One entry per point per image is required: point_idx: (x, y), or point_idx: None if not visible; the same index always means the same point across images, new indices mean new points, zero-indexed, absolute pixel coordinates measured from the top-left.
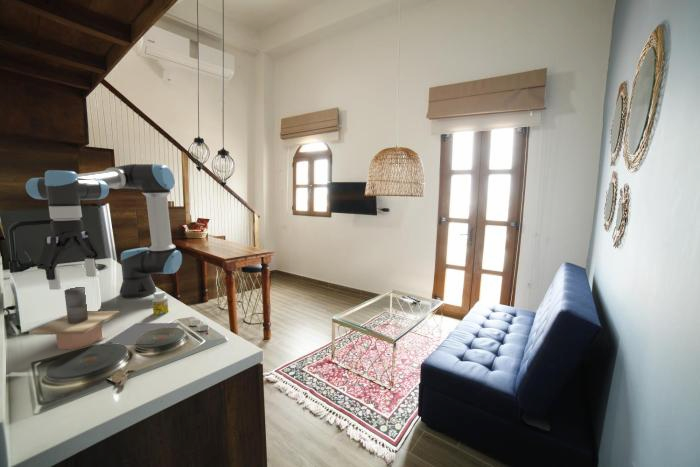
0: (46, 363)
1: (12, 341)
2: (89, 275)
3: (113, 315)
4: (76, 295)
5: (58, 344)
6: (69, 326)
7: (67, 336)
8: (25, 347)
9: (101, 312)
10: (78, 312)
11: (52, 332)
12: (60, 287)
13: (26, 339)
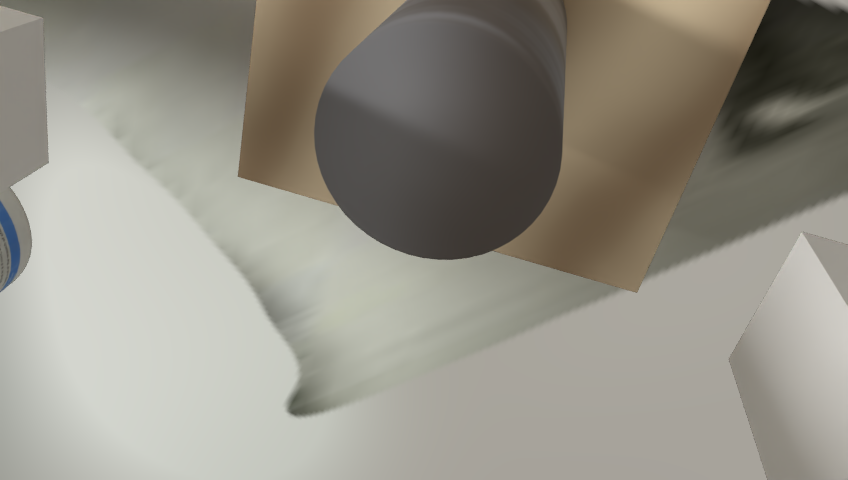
0: (806, 57)
1: (373, 391)
2: (29, 120)
3: None
4: (547, 65)
5: None
6: (633, 36)
7: None
8: (479, 296)
9: None
10: (552, 9)
11: (710, 123)
12: (813, 246)
13: (361, 342)
